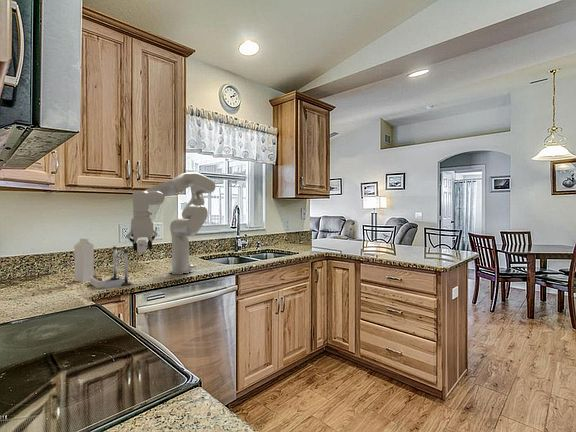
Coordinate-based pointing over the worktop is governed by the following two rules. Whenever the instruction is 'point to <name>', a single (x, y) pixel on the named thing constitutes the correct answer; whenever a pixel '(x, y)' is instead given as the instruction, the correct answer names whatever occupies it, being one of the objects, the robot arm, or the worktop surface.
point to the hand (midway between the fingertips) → (142, 249)
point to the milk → (83, 260)
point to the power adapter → (141, 246)
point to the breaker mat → (111, 283)
